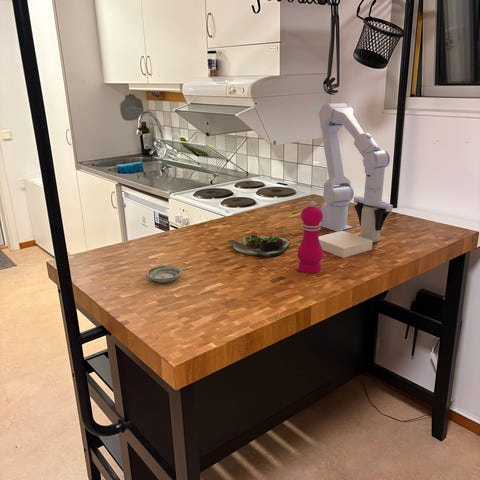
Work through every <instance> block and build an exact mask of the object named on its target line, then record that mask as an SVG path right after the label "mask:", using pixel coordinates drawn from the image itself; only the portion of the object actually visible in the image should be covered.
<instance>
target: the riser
mask: <svg viewBox="0 0 480 480" xmlns="http://www.w3.org/2000/svg"><path fill="white" fill-rule="evenodd" d="M318 237H319V242H320V245H321V247H322V250H323V252H324V251H325V252H327V253H330V254H332V255H335V256H337V257H340V258H343V259H344V258H348V257H351V256H355V255H358V254H361V253H364V252H368V251H371V250H372V249H373V243H374V242H373V240H369V239H366V238H363V237H360V235H357V234H353V233H351V232H348V231H345V230H341V231H335V232H331V233H328V234H327V233H326V234H323V235H320V236H319V235H318Z"/></svg>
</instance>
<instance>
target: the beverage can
mask: <svg viewBox="0 0 480 480" xmlns="http://www.w3.org/2000/svg"><path fill="white" fill-rule="evenodd" d="M374 210H379V209H378V208H377V207H373V206H368V205H363V208H362V215H361V226H360V229H359V230H360V231H359V236H360V237H363V238H366V239H369V240H373V242H372V243H377V242H378V241H380V238H381V230H379V231H376V229H375V225H376V218H375V213H374Z"/></svg>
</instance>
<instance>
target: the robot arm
mask: <svg viewBox="0 0 480 480" xmlns="http://www.w3.org/2000/svg"><path fill="white" fill-rule="evenodd" d="M318 117H319V124H320V129H321V130H320V131H321V136H322V142H323V148H324V149H323V150H324V155H325V162H326V169H327V173H328V174H327V175H328V179H327V180H326V181H325V182H324V183H323V196H322V197H323V200H324V203H323V204H322V206H321V208H320V209H321V211H322V213H323V219H322V221H321V222H320V224H321V226H320V227H321V228H325V229H328V230H331V231H335V232H339V231H345V230H348V229H352V227H353V226H351V225H348V212H349V211H348V210H349V209H348V208H349V205H350V204H351V201H353V203H354V204H355V205H354V210H355V212H356V214H357V218H358V222H359V223H358V224H359V227H361V215H362V208H363V205H368V206H373V207H377V208H378V209H379V210H374V213H375V218H376V225H375V229H376V231H379V230H380V231H382V229H383V225H384V223H385V220H386V219H387V217H388V216H389V214H390V213H391V212H392V211H393V207H394V206H393V204H390V203H388V202H385V201H384V200H383V192H384V181H385V172H386V168H387V167H388V166H389V164H390V160H391V157H390V154H389V152H388V150H386V149H382V147H380V146H379V145H378V144H377V142H376V141H375V140H374V139H373V136H372V134H371V133H368V132H364V130H363V129H362V127H361V126H360V124H359V123H358V121H357V119H356V117H355V116H354V109H353V108H352V106H351V104H350V103H349V102H341V103H340V102H338V103H337V102H336V103H335V102H334V103H329V102H328V103H327V102H325V103H323V104H322V106H321V107H320V109H319V112H318ZM343 127H344V128H345V129H346V130H347V132H348V133H349V134H350V135H351V136H352V137H353V138H354V141H353V145H354V147H355V148H356V150H357V151H358V153H359V154H360V156H362V158H363V159H362V163H363V166H364V174H365V180H364V181H365V183H364V192H363V193H364V194H363V197H362V196H354V194H355V193H354V192H355V191H354V187H352V185H351V180H350V179H349V178H347V176H345V173H344V167H343V160H342V153H341V148H340V140H339V135H338V132H339V131H340V129H341V128H343Z"/></svg>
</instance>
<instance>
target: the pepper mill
mask: <svg viewBox="0 0 480 480" xmlns="http://www.w3.org/2000/svg"><path fill="white" fill-rule="evenodd" d="M316 203H317V202H315V201H314V200H311V201H309V202H308V206H306V207H304V208H303V209H302V210H301V213H300V219H301V221H302V227H301V228H302V230H303V237H302V241H301V243H300V245H299V247H298V250H297V254H296V256H297V258H298V260H299V262H298V270H299V271H300V272H302V273H306V274H314V273H315V274H316V273H318V272H320V271H321V270H322V269H321V268H322V264H321V261H322V259H323V258H324V250H322V247H321V245H320V242H319V232H320V230H321V227H322V226H321V224H320V222H321V221H322V219H323V213H322V211H321V208H320V207H318V206H316Z"/></svg>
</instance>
